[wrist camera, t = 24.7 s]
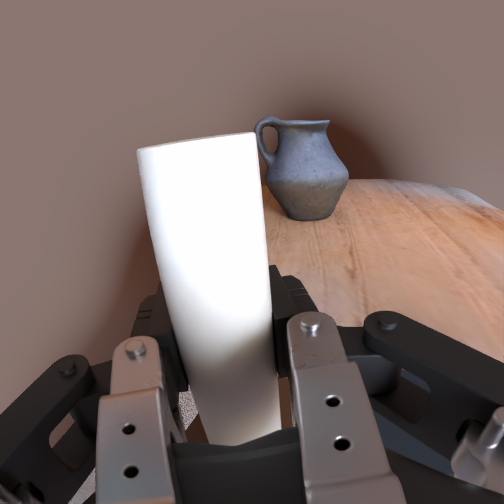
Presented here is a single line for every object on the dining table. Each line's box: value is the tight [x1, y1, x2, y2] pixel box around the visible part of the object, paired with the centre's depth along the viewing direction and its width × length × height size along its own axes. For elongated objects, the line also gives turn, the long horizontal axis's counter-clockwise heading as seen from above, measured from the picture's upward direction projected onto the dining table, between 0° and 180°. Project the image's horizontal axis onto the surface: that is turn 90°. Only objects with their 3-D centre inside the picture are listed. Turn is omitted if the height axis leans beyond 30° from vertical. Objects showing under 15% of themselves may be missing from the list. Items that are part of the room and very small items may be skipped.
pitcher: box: [254, 116, 349, 221], centre depth 75 cm, size 21×22×25 cm
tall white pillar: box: [136, 132, 293, 446], centre depth 10 cm, size 8×5×14 cm, turn 157°
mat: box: [372, 370, 454, 477], centre depth 24 cm, size 16×12×1 cm
